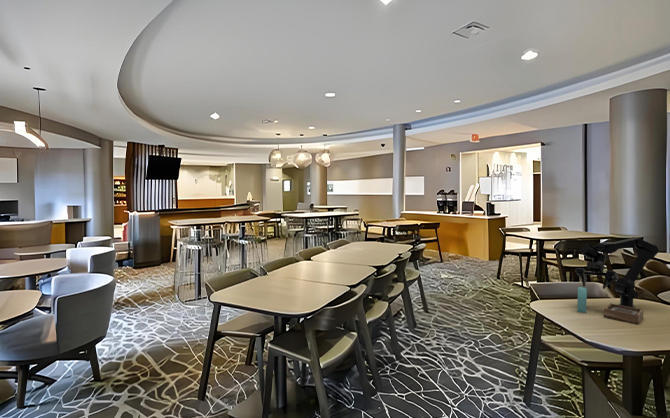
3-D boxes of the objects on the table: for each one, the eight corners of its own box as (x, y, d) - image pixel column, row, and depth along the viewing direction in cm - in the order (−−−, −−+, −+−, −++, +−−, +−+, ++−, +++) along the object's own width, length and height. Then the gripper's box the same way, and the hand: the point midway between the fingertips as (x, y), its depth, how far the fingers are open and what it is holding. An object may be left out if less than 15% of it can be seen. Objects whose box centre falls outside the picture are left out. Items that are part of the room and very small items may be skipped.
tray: (610, 311, 190) (610, 303, 190) (643, 318, 179) (643, 309, 179) (603, 317, 181) (604, 308, 181) (638, 324, 171) (638, 315, 170)
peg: (578, 309, 193) (579, 286, 192) (587, 311, 190) (587, 288, 189) (576, 311, 190) (576, 287, 190) (584, 313, 187) (585, 289, 187)
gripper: (574, 254, 200) (568, 278, 195) (613, 256, 185) (609, 282, 179) (581, 264, 205) (576, 288, 199) (620, 266, 190) (616, 292, 184)
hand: (593, 287), depth 190 cm, fingers open, 9 cm apart
